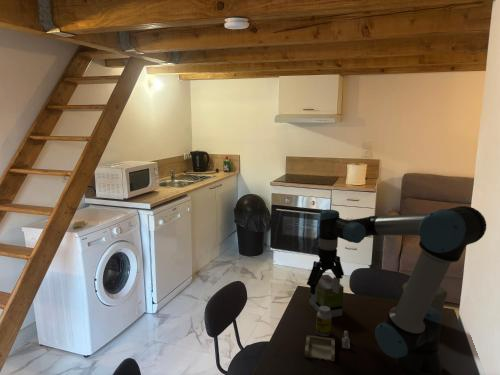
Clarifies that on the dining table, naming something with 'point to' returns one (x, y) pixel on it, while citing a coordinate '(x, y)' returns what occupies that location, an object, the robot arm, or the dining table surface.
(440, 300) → the canister
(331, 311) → the tea box
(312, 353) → the square tray
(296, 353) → the dining table surface
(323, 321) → the pill bottle
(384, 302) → the dining table surface
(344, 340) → the clip
